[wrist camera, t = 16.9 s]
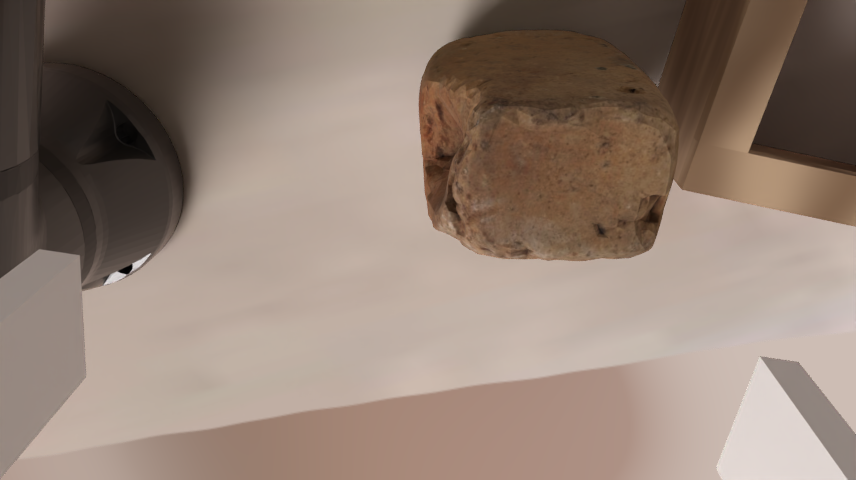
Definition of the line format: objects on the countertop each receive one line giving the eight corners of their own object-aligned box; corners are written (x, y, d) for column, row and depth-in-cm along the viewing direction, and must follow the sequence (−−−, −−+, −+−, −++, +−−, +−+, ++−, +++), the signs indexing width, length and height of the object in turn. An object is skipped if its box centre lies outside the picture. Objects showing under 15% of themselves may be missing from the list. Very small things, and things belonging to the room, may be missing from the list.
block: (611, 28, 43) (708, 94, 25) (597, 148, 46) (675, 288, 28) (431, 23, 44) (396, 85, 25) (429, 143, 47) (396, 275, 28)
